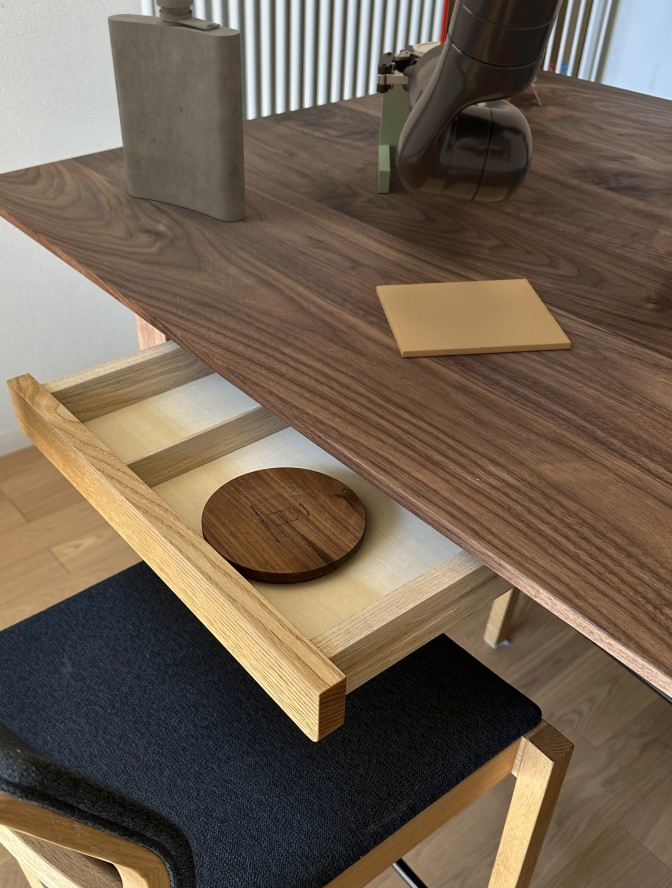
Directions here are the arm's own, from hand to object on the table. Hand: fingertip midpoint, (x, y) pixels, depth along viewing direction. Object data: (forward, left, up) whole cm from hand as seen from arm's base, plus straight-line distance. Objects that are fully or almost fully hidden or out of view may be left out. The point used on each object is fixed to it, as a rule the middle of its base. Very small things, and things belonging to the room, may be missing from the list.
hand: (439, 55), depth 93 cm
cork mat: (+5, +36, -12) cm, 39 cm away
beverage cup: (0, +2, -8) cm, 8 cm away
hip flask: (+29, +6, -13) cm, 32 cm away
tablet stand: (+1, +2, -12) cm, 13 cm away
